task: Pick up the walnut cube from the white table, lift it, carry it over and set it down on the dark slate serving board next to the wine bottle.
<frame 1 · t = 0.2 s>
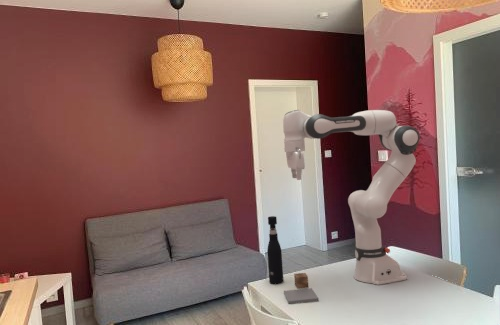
hand: (296, 178, 167), 47 cm above the table, fingers open, 8 cm apart
slate board: (300, 297, 154), on the table
walnut block: (301, 286, 166), on the table
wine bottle: (276, 282, 174), on the table
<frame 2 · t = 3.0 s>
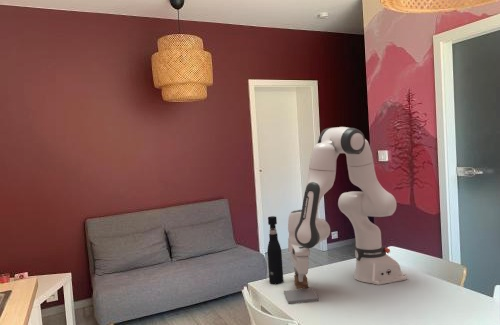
hand: (298, 278, 165), 4 cm above the table, fingers open, 6 cm apart
walnut block: (301, 287, 166), on the table, touching gripper
everything else where it was.
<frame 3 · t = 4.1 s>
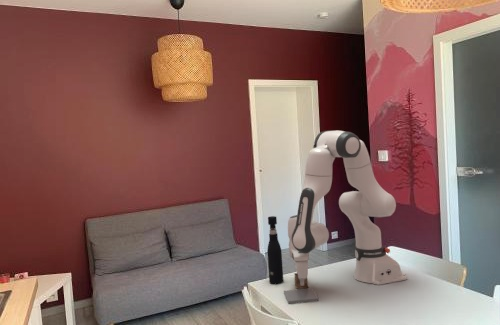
hand: (301, 282, 166), 2 cm above the table, fingers closed on walnut block, 5 cm apart
walnut block: (301, 286, 166), on the table, touching gripper
everything else where it was.
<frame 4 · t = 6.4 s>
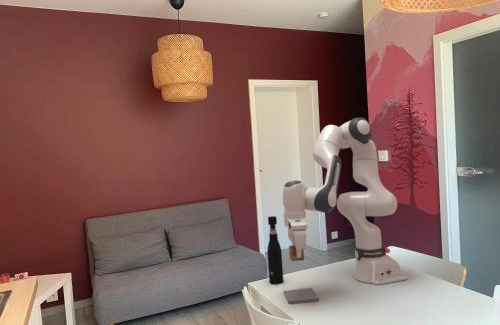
hand: (297, 255, 154), 17 cm above the table, fingers closed on walnut block, 5 cm apart
walnut block: (296, 259, 154), point 16 cm above the table, touching gripper
everything else where it was.
when the fingers open (5 cm above the table, at t = 8.7 s): walnut block drops 2 cm, resting on slate board.
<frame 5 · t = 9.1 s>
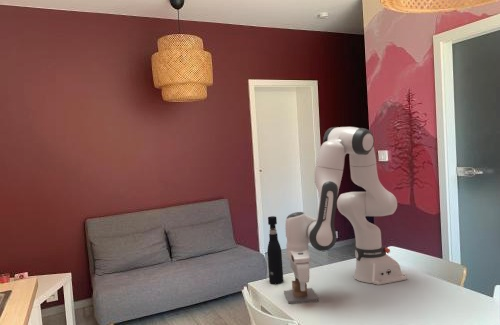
hand: (300, 286, 154), 5 cm above the table, fingers open, 8 cm apart
walnut block: (299, 294, 154), point 1 cm above the table, touching slate board
everything else where it was.
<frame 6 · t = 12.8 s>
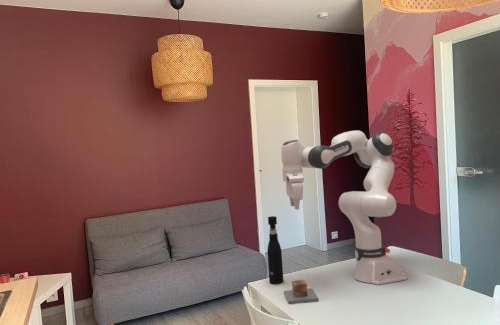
hand: (294, 207, 169), 34 cm above the table, fingers open, 8 cm apart
nothing on the table moved.
at the end: walnut block inside the target area on the slate board (0.2 cm from its centre), point 1.2 cm above the slate board's base; walnut block tilted 0°; the gripper is holding nothing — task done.
